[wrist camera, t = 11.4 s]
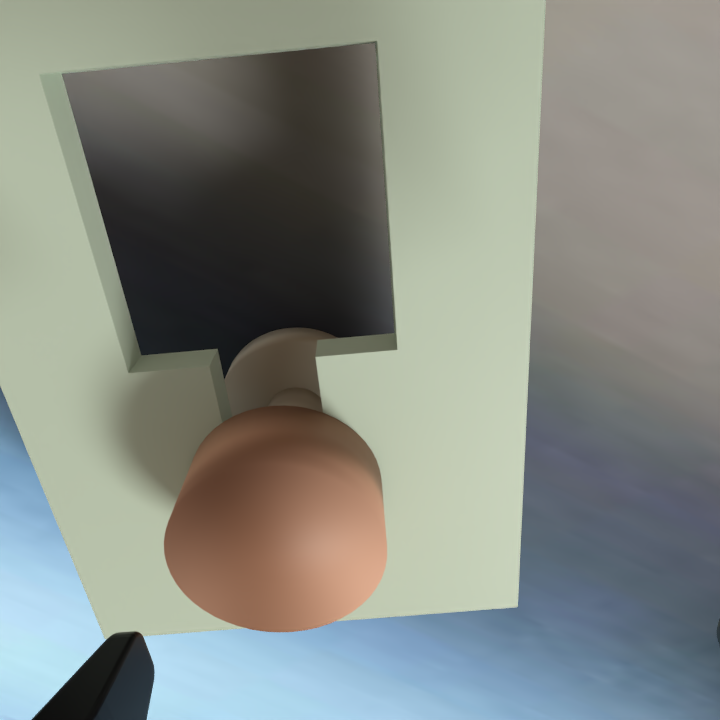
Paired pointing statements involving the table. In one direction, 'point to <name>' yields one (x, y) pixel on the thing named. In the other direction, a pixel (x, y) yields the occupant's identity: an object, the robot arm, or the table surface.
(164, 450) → the keyhole board
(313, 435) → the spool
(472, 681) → the table surface
